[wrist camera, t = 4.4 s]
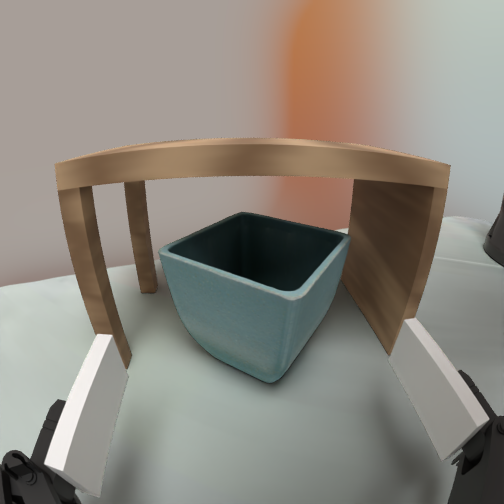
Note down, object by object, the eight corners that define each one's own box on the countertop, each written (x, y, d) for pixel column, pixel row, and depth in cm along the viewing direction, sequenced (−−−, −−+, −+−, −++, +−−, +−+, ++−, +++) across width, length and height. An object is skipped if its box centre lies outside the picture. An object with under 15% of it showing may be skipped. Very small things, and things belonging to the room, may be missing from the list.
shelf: (350, 279, 30) (367, 145, 24) (400, 352, 19) (450, 165, 13) (144, 285, 28) (127, 145, 22) (109, 367, 18) (54, 163, 12)
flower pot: (282, 419, 15) (299, 298, 11) (175, 361, 19) (153, 248, 15) (333, 338, 21) (353, 233, 18) (243, 305, 26) (242, 210, 22)
